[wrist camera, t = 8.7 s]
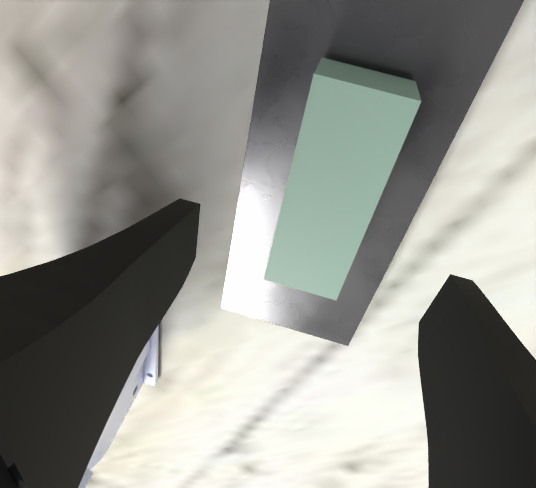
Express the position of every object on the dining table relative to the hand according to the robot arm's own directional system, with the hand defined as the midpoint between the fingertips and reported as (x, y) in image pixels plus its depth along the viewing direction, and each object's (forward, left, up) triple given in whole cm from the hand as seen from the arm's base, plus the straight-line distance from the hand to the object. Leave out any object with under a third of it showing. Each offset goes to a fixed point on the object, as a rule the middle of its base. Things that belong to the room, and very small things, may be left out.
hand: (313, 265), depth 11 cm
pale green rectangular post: (0, 0, -8) cm, 8 cm away
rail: (0, 0, -8) cm, 8 cm away
